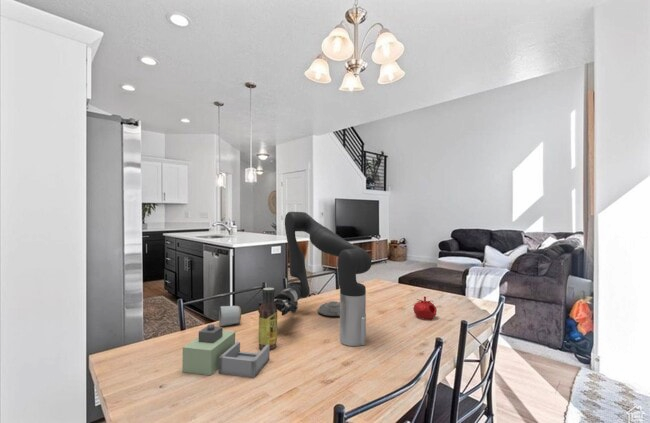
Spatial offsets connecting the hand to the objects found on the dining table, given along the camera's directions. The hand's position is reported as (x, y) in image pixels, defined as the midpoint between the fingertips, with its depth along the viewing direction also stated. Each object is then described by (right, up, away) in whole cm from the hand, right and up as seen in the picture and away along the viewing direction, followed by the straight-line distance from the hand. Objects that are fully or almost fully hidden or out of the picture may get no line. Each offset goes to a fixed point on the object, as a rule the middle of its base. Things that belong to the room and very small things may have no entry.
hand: (271, 311), depth 107 cm
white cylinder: (-21, -11, +19) cm, 31 cm away
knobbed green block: (-10, -11, -15) cm, 21 cm away
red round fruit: (+64, -12, +29) cm, 71 cm away
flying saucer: (+23, -12, +34) cm, 43 cm away
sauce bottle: (-1, -11, -3) cm, 12 cm away
